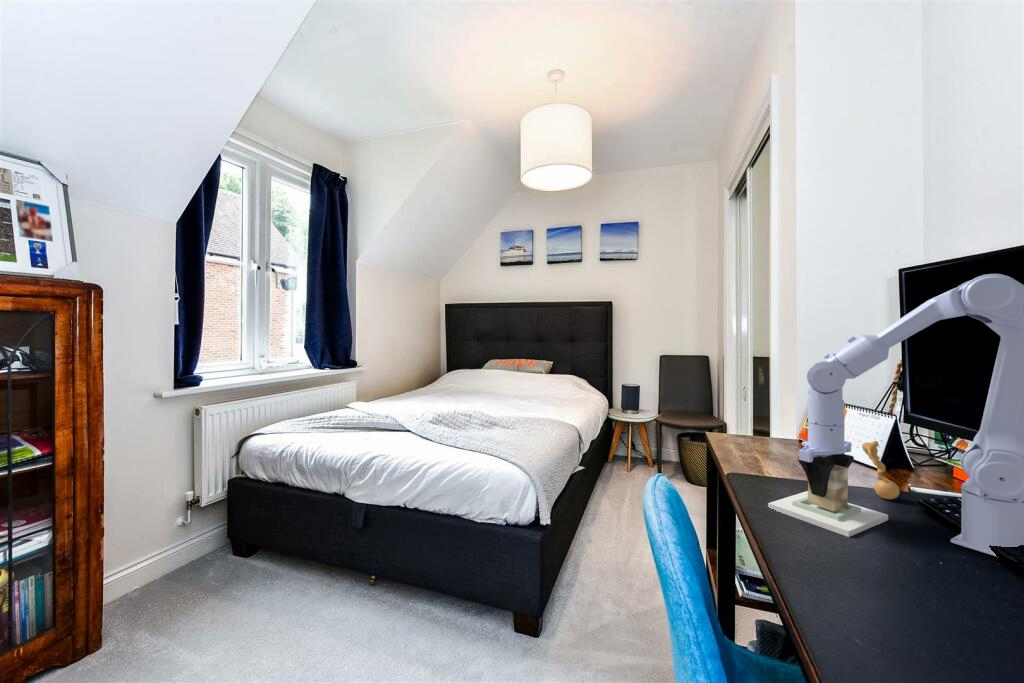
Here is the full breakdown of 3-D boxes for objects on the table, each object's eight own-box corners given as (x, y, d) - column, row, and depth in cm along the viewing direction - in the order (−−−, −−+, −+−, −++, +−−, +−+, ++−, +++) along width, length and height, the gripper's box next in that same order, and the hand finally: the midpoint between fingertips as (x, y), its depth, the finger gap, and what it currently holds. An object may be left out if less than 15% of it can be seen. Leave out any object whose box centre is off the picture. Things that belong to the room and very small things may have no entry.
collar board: (807, 495, 92) (807, 487, 92) (888, 520, 80) (888, 510, 80) (768, 508, 86) (768, 499, 86) (848, 537, 73) (848, 526, 73)
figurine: (900, 507, 85) (900, 447, 85) (861, 500, 89) (861, 443, 89) (898, 495, 92) (898, 439, 91) (862, 488, 96) (862, 435, 95)
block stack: (820, 498, 86) (821, 461, 85) (847, 506, 81) (848, 467, 81) (807, 502, 83) (808, 464, 83) (834, 511, 79) (835, 471, 79)
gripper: (823, 416, 89) (823, 480, 89) (782, 423, 83) (782, 492, 83) (863, 422, 83) (863, 491, 83) (822, 430, 76) (822, 505, 77)
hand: (825, 492), depth 83 cm, fingers closed on block stack, 5 cm apart
